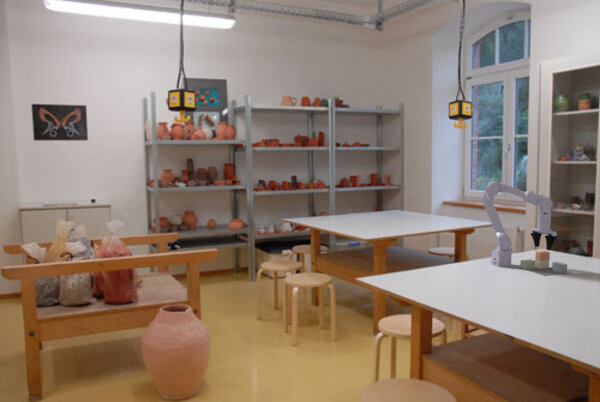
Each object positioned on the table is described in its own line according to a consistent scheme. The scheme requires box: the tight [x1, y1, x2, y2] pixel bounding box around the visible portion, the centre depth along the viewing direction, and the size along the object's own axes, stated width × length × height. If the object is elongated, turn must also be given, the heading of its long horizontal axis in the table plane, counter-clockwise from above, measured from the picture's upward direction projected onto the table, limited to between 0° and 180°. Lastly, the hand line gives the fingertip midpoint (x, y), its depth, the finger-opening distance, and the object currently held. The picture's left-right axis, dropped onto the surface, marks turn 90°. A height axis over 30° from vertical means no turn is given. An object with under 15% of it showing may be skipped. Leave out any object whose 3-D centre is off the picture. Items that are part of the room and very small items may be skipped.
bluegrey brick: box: [551, 261, 568, 273], centre depth 240 cm, size 6×3×4 cm, turn 18°
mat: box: [519, 267, 571, 277], centre depth 242 cm, size 15×17×1 cm
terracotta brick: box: [534, 250, 551, 261], centre depth 248 cm, size 6×3×4 cm, turn 108°
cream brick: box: [534, 260, 550, 269], centre depth 248 cm, size 6×3×4 cm, turn 108°
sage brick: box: [519, 259, 535, 270], centre depth 247 cm, size 6×3×4 cm, turn 108°
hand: (542, 248), depth 247 cm, fingers open, 7 cm apart
